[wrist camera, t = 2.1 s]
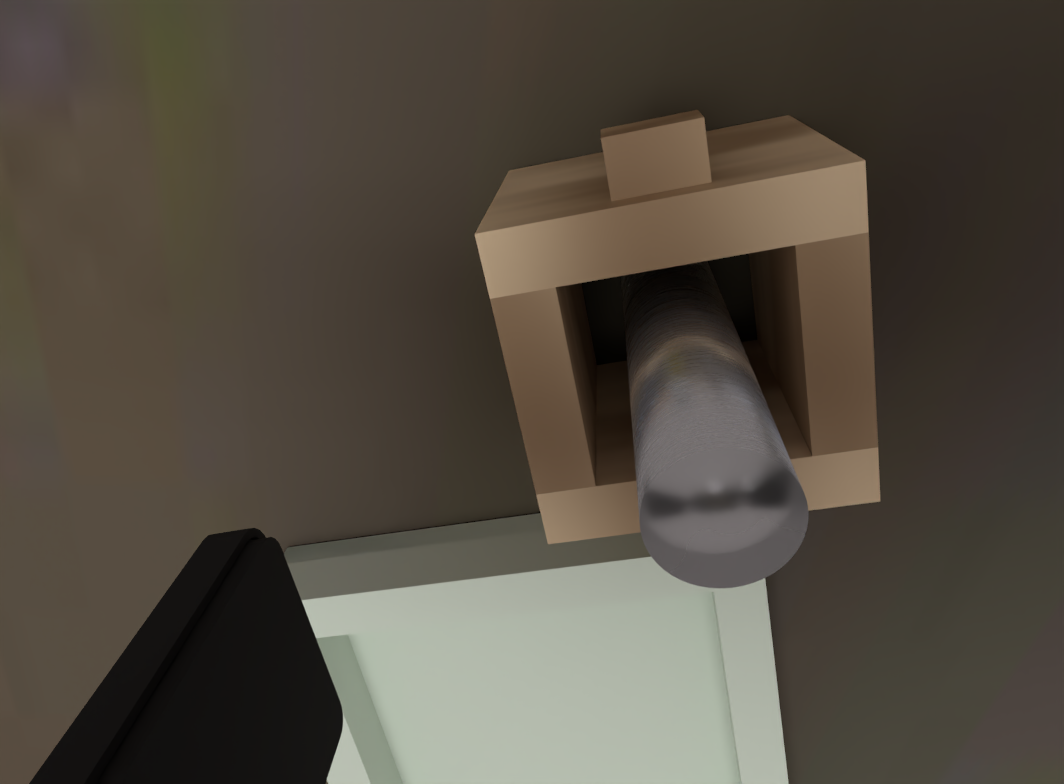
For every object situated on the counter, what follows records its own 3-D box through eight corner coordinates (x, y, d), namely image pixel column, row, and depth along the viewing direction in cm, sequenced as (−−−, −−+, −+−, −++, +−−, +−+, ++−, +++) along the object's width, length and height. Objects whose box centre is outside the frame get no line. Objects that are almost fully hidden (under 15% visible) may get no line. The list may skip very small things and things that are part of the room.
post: (703, 226, 19) (802, 435, 10) (714, 310, 19) (814, 578, 10) (614, 242, 19) (628, 460, 10) (628, 324, 20) (652, 596, 11)
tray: (744, 485, 21) (761, 542, 19) (784, 823, 26) (801, 900, 24) (287, 547, 23) (254, 606, 21) (405, 851, 28) (388, 926, 26)
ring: (785, 64, 17) (861, 90, 12) (811, 411, 20) (882, 547, 15) (499, 123, 18) (459, 171, 13) (568, 447, 21) (558, 587, 16)
